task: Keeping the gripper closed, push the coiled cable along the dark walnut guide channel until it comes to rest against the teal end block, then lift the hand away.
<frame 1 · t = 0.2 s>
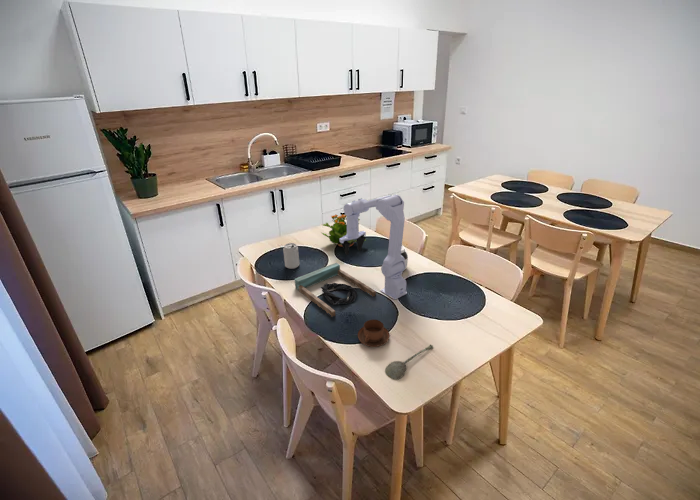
hand: (353, 252, 177), 10 cm above the table, tool pointing down, fingers open, 7 cm apart
can: (292, 266, 186), on the table
cable: (338, 295, 162), on the table
guide channel: (334, 291, 164), on the table
soupspoon: (410, 363, 124), on the table
potted flower: (345, 244, 208), on the table
cup and saucer: (373, 339, 135), on the table
spread jar: (395, 270, 180), on the table
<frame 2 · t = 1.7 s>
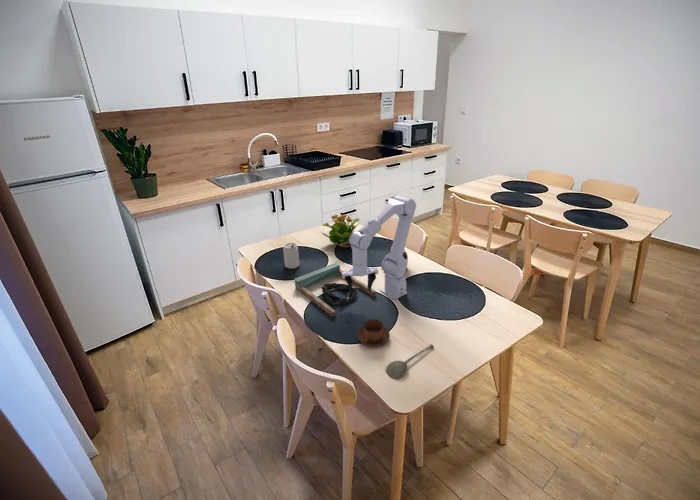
hand: (360, 290, 147), 9 cm above the table, tool pointing down, fingers open, 7 cm apart
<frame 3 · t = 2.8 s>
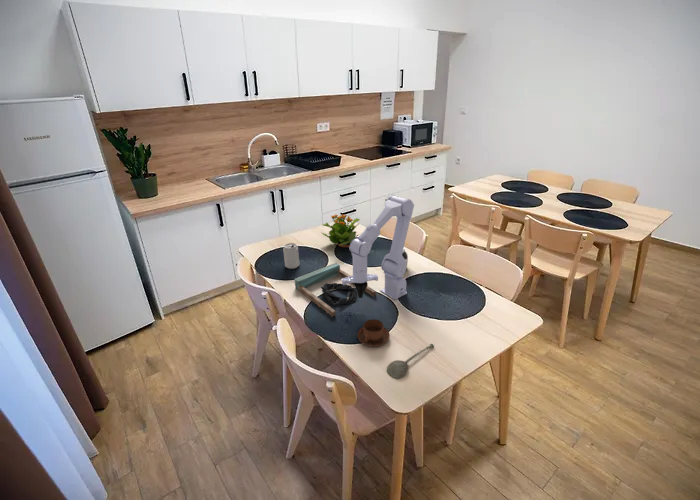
hand: (360, 296, 148), 7 cm above the table, tool pointing down, fingers closed
nothing on the table moved.
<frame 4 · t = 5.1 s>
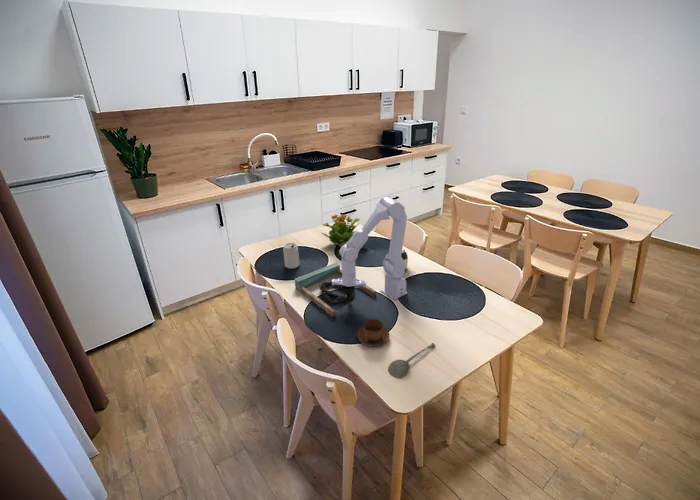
hand: (349, 299, 155), 1 cm above the table, tool pointing down, fingers closed
cable: (336, 293, 163), on the table, touching gripper
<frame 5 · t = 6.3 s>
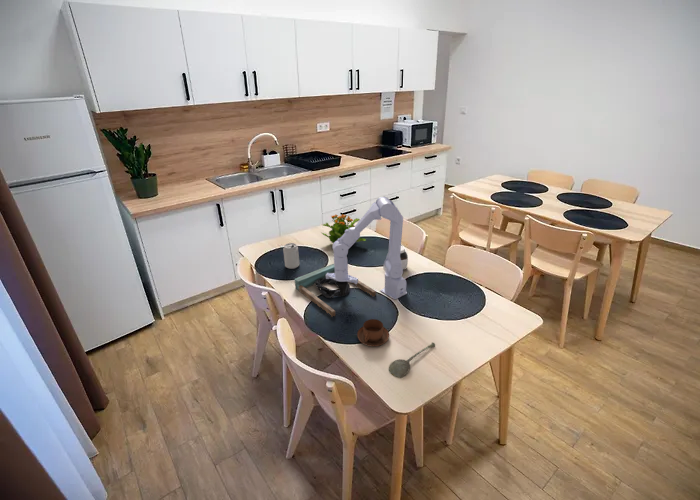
hand: (342, 294, 159), 1 cm above the table, tool pointing down, fingers closed, pressing on cable
cable: (331, 289, 166), on the table, touching gripper, guide channel
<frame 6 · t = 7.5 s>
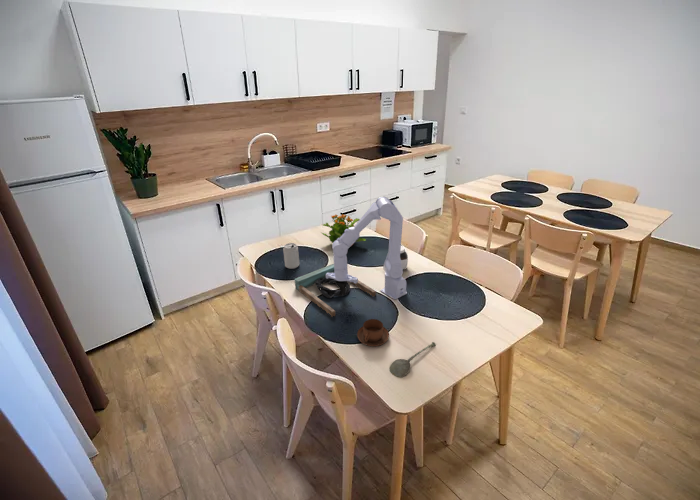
hand: (342, 294, 159), 1 cm above the table, tool pointing down, fingers closed, pressing on cable
cable: (332, 289, 166), on the table, touching gripper, guide channel
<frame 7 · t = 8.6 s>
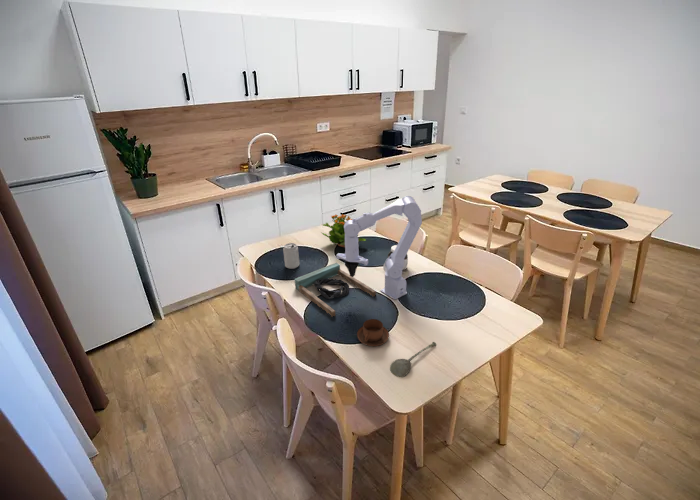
hand: (352, 275, 158), 9 cm above the table, tool pointing down, fingers closed
cable: (331, 290, 166), on the table
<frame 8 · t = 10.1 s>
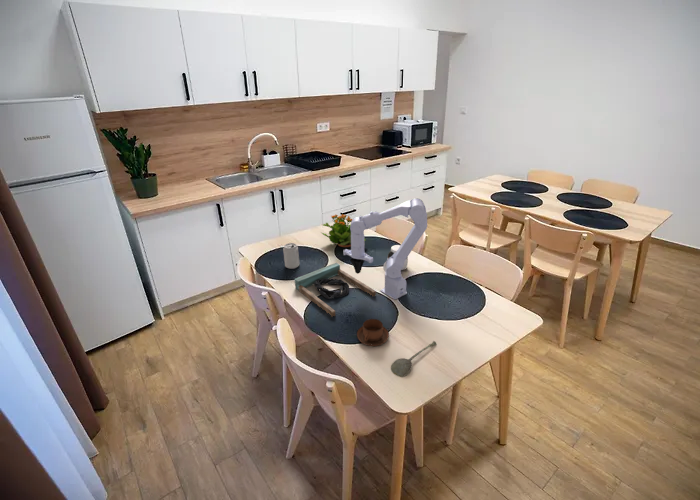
hand: (358, 272, 160), 9 cm above the table, tool pointing down, fingers closed
at the end: cable inside the target area (1.5 cm from its centre), on the table; cable moved 5.9 cm from its start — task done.
